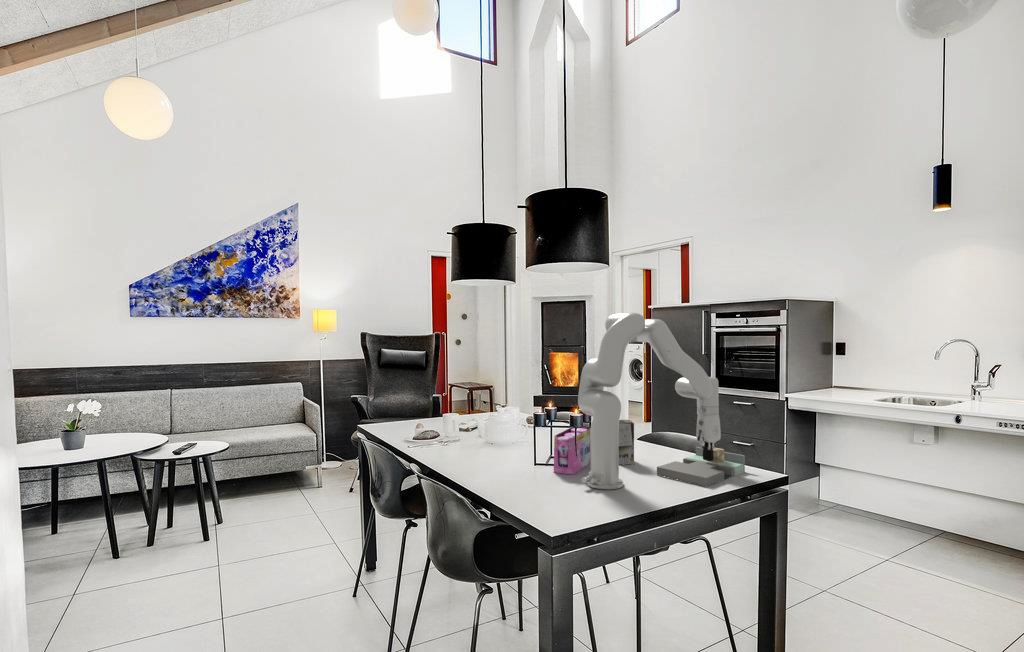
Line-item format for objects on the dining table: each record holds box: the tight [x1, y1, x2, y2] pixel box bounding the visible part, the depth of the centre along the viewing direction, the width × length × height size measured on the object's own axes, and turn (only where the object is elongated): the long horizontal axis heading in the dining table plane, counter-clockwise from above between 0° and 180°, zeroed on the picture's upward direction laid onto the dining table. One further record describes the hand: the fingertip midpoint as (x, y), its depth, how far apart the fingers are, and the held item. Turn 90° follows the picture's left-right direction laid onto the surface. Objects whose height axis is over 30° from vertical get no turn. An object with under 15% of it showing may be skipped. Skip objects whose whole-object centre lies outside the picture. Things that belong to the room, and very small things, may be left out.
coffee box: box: [618, 419, 635, 465], centre depth 211 cm, size 9×6×16 cm
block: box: [709, 447, 725, 463], centre depth 199 cm, size 4×4×4 cm
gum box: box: [553, 426, 591, 476], centre depth 203 cm, size 24×8×14 cm, turn 154°
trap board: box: [656, 446, 746, 487], centre depth 193 cm, size 28×19×6 cm
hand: (708, 459), depth 197 cm, fingers closed
